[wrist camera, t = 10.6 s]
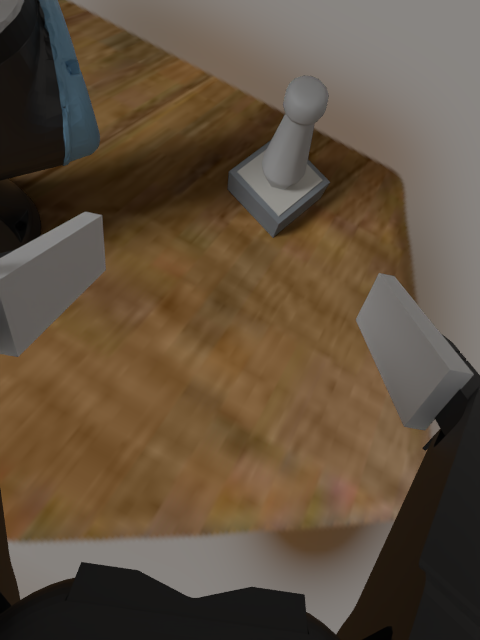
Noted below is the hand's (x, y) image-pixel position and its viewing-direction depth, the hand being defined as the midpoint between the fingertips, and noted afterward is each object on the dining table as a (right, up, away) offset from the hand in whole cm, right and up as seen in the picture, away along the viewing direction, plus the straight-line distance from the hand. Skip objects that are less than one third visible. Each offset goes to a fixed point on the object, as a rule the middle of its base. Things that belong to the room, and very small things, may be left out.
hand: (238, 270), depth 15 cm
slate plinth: (+5, +17, +31) cm, 36 cm away
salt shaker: (+6, +17, +27) cm, 33 cm away
